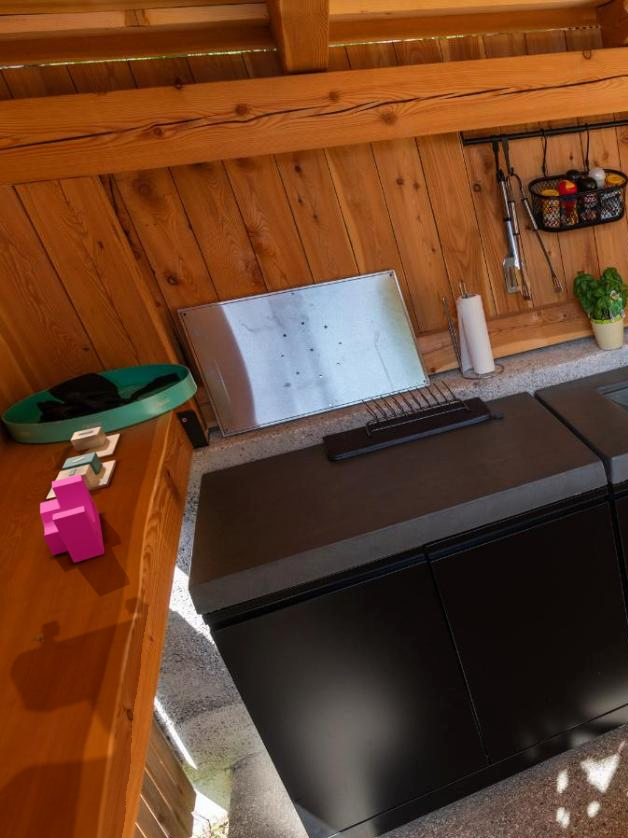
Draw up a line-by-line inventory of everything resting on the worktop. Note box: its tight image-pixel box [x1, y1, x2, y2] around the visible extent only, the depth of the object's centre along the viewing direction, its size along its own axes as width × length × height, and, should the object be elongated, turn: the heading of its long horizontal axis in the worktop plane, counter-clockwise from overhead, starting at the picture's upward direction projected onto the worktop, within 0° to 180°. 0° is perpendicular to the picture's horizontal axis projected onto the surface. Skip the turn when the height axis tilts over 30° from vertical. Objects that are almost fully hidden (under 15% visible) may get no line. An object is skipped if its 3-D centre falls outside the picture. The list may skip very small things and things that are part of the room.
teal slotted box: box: [62, 452, 103, 474], centre depth 139 cm, size 4×4×3 cm
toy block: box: [39, 474, 105, 564], centre depth 117 cm, size 15×6×8 cm, turn 38°
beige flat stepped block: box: [70, 426, 121, 459], centre depth 149 cm, size 9×11×3 cm
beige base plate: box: [45, 459, 117, 501], centre depth 137 cm, size 9×11×3 cm
